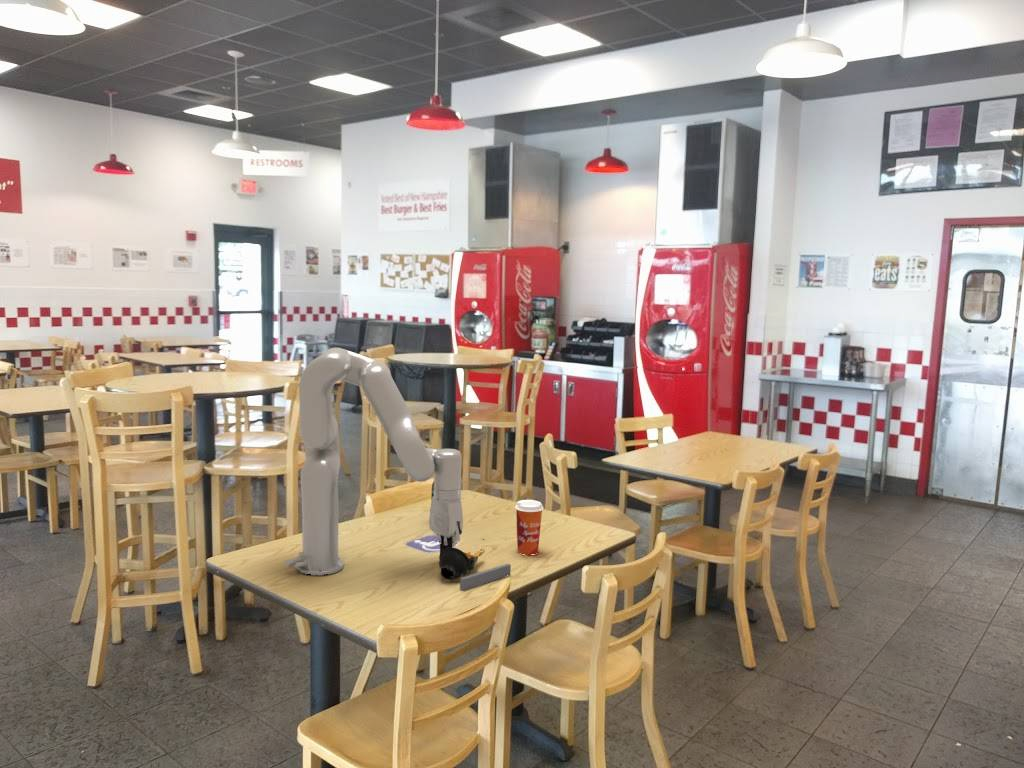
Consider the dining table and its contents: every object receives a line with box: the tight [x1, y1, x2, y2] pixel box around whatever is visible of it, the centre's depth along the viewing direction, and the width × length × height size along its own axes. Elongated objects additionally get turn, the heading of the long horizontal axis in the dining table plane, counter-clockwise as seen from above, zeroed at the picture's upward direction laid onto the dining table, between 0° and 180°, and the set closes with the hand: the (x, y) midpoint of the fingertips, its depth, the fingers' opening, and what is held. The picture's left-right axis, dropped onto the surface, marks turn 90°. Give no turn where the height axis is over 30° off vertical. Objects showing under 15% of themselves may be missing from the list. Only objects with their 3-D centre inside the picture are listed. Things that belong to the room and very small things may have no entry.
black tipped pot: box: [438, 546, 485, 581], centre depth 208 cm, size 9×11×18 cm
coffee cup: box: [515, 499, 544, 555], centre depth 224 cm, size 8×8×15 cm
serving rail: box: [459, 563, 512, 591], centre depth 202 cm, size 17×1×3 cm, turn 133°
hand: (445, 557), depth 214 cm, fingers closed
